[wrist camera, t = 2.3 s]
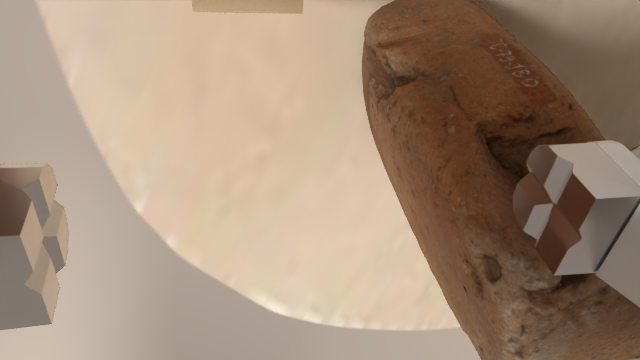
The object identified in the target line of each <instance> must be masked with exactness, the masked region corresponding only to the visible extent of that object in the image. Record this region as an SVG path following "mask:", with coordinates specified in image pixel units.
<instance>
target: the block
mask: <svg viewBox="0 0 640 360" xmlns="http://www.w3.org/2000/svg"><path fill="white" fill-rule="evenodd" d="M364 37H365V41H364V48H363V57H362V77H363V92H364V100H365V105H366V111H367V115H368V119H369V124H370V128H371V131H372V134H373V137H374V140H375V143H376V146H377V149H378V151H379V154H380V157H381V159H382V162H383V164H384V167H385V169H386V172H387V174H388V176H389V179H390V181H391V183H392V185H393V188H394V190H395V192H396V195H397V197H398V199H399V202H400V204H401V206H402V209H403V211H404V213H405V215H406V217H407V220H408V222H409V224H410V226H411V229H412V231H413V233H414V234H415V236H416V239H417V241H418V243H419V246H420V248H421V250H422V252H423V254H424V256H425V258H426V259H427V262H428V264H429V266H430V268H431V271H432V273H433V274H434V276H435V278H436V280H437V282H438V284H439V285H440V287H441V289H442V292H443V294H444V296H445V299H446V301H447V303H448V305H449V306H450V308H451V310H452V311H453V313H454V315H455V317H456V318H457V320H458V322H459V324H460V326H461V328H462V329H463V331H464V332H465V333H466V334H467V335H468V336H469V338H470V340H471V341H472V343H473V345H474V347H475V348H476V351H477V352H478V354H479V356H480V358H481V360H631V359H639V358H640V307H639V306H637V305H636V304H635V303H633V302H632V301H630V300H629V299H628V298H626V297H625V296H624V295H622V294H621V293H619V292H618V291H617V290H615V289H614V288H613V287H611V286H610V285H609V284H607V283H606V282H604V281H603V280H602V279H600V278H599V277H598V276H596V273H585V274H570V275H555V276H554V275H553V274H552V272H551V271H550V269H549V268H548V266H547V265H546V264H545V262H544V261H543V259H542V258H541V256H540V255H539V253H538V252H537V251H536V249H535V245H536V238H534V237H532V236H531V235H529V234H527V233H526V232H524V231H523V230H522V229H521V227H520V225H519V224H518V222H517V221H516V218H515V215H514V212H513V195H514V192H515V189H516V186H517V184H518V182H519V181H520V180H521V179H522V178H524V177H525V176H526V175H527V174H528V173H529V170H528V167H527V165H526V162H527V160H528V158H529V155H530V153H531V152H532V151H533V150H534V149H535V147H536V146H537V145H551V144H573V143H587V142H594V141H605V139H604V138H603V136H602V135H601V133H600V132H599V130H598V129H597V128H596V126H595V125H594V123H593V122H592V120H591V119H590V118H589V117H588V115H587V114H586V113H585V111H584V110H583V109H582V107H581V106H580V105H579V103H578V102H577V101H576V100H575V98H574V97H573V96H572V95H571V93H570V92H569V91H568V90H567V89H566V88H565V87H564V85H563V84H562V83H561V82H560V81H559V80H558V79H557V78H556V77H555V76H554V75H553V73H552V72H551V71H550V70H549V69H548V68H547V67H546V66H545V65H544V64H543V63H542V62H541V61H540V60H539V59H537V58H536V57H535V56H534V55H533V54H532V53H531V52H530V51H529V50H528V49H527V48H525V47H524V46H523V45H522V44H521V43H520V42H519V41H518V40H517V39H516V38H514V37H513V36H512V35H511V34H510V33H509V32H508V31H507V30H506V29H504V28H503V27H502V26H501V25H500V24H499V23H498V22H497V21H496V20H495V19H494V18H493V17H492V16H490V15H489V14H488V13H486V12H485V11H484V10H483V9H481V8H480V7H479V6H477V5H476V4H474V3H472V2H470V1H469V0H395V1H393V2H391V3H390V4H387V5H385V6H383V7H381V8H380V9H379V10H377V11H376V12H375V13H374V14H373V15H372V16H371V17H370V18H369V19H368V21H367V25H366V28H365V32H364Z"/></svg>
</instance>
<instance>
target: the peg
mask: <svg viewBox="0 0 640 360" xmlns="http://www.w3.org/2000/svg"><path fill="white" fill-rule="evenodd" d="M192 7H193V12H237V13H298V14H302V10H303V0H192Z"/></svg>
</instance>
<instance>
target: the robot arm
mask: <svg viewBox="0 0 640 360" xmlns="http://www.w3.org/2000/svg"><path fill="white" fill-rule="evenodd" d="M526 165H527V167H528V170H529V173H528V174H527V175H526V176H525V177H524V178H522V179H521V180H520V181H519V182H518V184H517V186H516V189H515V192H514V195H513V212H514V215H515V218H516V221H517V222H518V224H519V225H520V227H521V229H522V230H523V231H524V232H526V233H527V234H529V235H531V236H532V237H534V238H536V245H535V249H536V251H537V252H538V253H539V255H540V256H541V258H542V259H543V261H544V262H545V264H546V265H547V266H548V268H549V269H550V271H551V272H552V274H553V275H554V276H555V275H570V274H585V273H596V276H598V277H599V278H600V279H602V280H603V281H604V282H606V283H607V284H609V285H610V286H611V287H613V288H614V289H615V290H617V291H618V292H619V293H621V294H622V295H624V296H625V297H626V298H628V299H629V300H630V301H632V302H633V303H635V304H636V305H637V306H639V307H640V160H639V159H638V158H637V157H636V156H635V155H634V154H633V153H632V152H630V151H629V150H628V149H627V148H626V147H625V146H624V145H623V144H622V143H619V142H616V141H613V140H609V141H594V142H587V143H573V144H551V145H537V146H536V147H535V149H534V150H533V151H532V152H531V153H530V155H529V158H528V160H527V162H526ZM57 186H58V184H57V181H56V178H55V175H54V171H53V168H52V167H51V166H50V165H49V164H47V163H43V164H42V163H41V164H0V330H5V329H14V328H22V327H30V326H38V325H46V324H52V321H53V316H54V312H55V308H56V304H57V299H58V295H59V291H60V287H59V283H58V280H57V277H56V273H57V272H58V271H60V270H61V269H62V268H63V267H64V266H65V264H66V259H67V254H68V241H69V232H68V223H67V218H66V213H65V210H64V207H63V206H62V205H60V204H59V203H58V202H56V201H55V200H54V197H55V193H56V190H57ZM631 360H640V358H639V359H631Z"/></svg>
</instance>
